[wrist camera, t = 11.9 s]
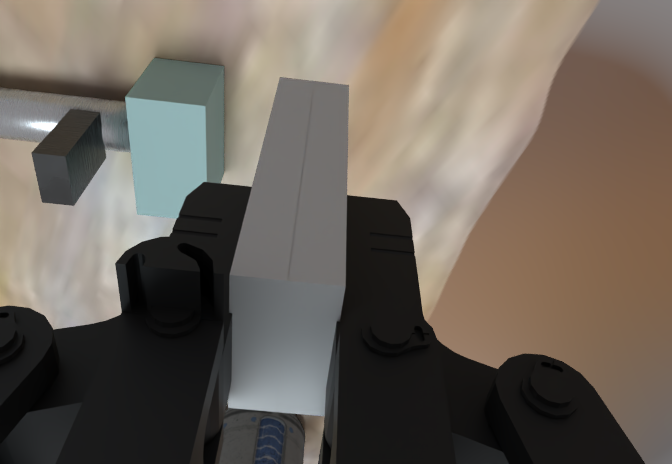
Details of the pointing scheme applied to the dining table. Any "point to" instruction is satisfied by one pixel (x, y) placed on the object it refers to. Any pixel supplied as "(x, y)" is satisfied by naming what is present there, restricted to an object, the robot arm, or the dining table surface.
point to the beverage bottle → (261, 438)
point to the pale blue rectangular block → (175, 133)
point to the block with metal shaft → (64, 137)
